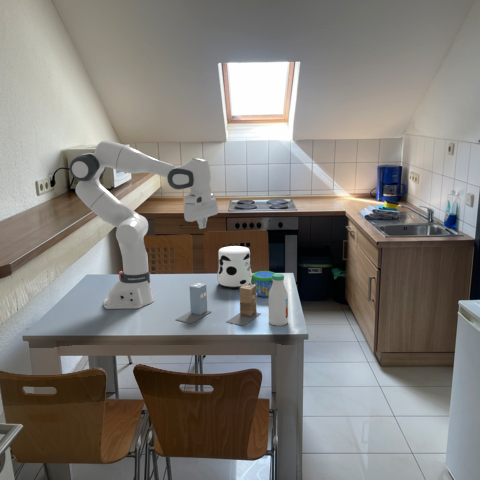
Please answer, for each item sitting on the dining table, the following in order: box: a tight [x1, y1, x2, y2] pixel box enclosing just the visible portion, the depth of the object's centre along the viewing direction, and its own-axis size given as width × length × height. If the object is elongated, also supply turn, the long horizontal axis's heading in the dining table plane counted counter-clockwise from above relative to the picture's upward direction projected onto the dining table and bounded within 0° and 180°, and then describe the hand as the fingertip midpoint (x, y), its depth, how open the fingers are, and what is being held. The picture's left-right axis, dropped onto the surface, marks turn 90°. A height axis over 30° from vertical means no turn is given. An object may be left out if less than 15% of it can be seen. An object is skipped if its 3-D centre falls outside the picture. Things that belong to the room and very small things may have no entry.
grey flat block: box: [175, 310, 212, 325], centre depth 198 cm, size 14×8×1 cm, turn 148°
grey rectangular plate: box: [225, 312, 261, 327], centre depth 195 cm, size 14×8×1 cm, turn 148°
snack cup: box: [250, 270, 276, 298], centre depth 220 cm, size 16×10×10 cm
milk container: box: [216, 245, 253, 289], centre depth 234 cm, size 17×17×18 cm
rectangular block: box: [189, 282, 208, 315], centre depth 200 cm, size 5×5×12 cm
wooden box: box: [239, 284, 258, 317], centre depth 197 cm, size 5×5×12 cm
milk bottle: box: [268, 273, 289, 327], centre depth 188 cm, size 8×8×20 cm
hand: (202, 228), depth 206 cm, fingers closed
